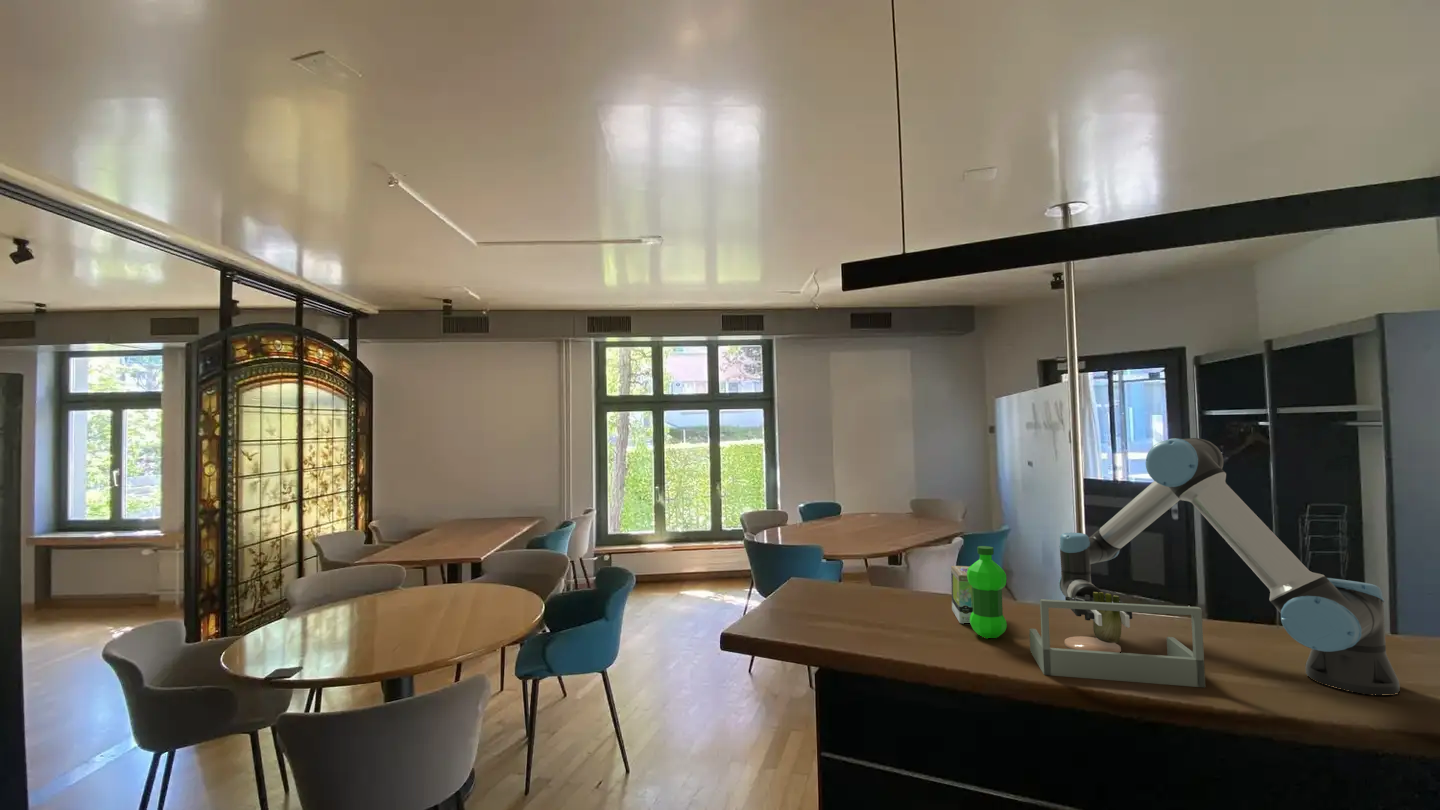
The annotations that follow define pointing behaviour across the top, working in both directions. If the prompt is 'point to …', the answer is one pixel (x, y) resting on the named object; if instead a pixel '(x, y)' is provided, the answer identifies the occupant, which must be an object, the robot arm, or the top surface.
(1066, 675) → the frame
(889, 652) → the top surface
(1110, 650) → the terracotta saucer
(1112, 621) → the fennel bulb
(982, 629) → the plastic bottle
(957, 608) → the tea box
